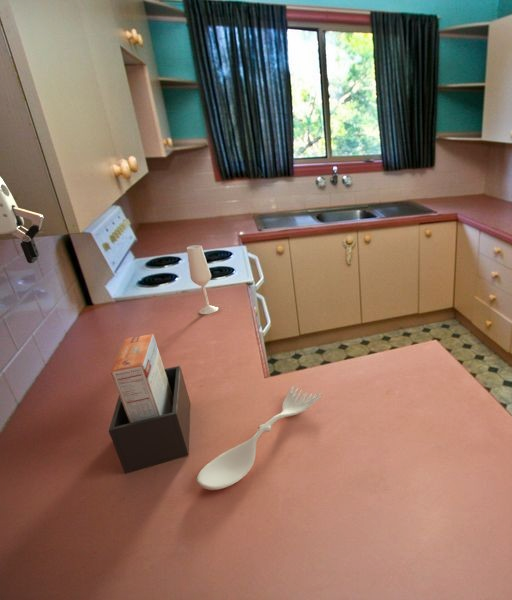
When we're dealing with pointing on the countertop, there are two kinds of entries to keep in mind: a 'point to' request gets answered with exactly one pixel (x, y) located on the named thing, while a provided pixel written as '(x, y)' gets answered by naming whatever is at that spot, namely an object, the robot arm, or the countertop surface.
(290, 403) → the spoon
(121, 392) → the cracker box
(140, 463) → the open box
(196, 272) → the champagne flute
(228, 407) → the countertop surface
